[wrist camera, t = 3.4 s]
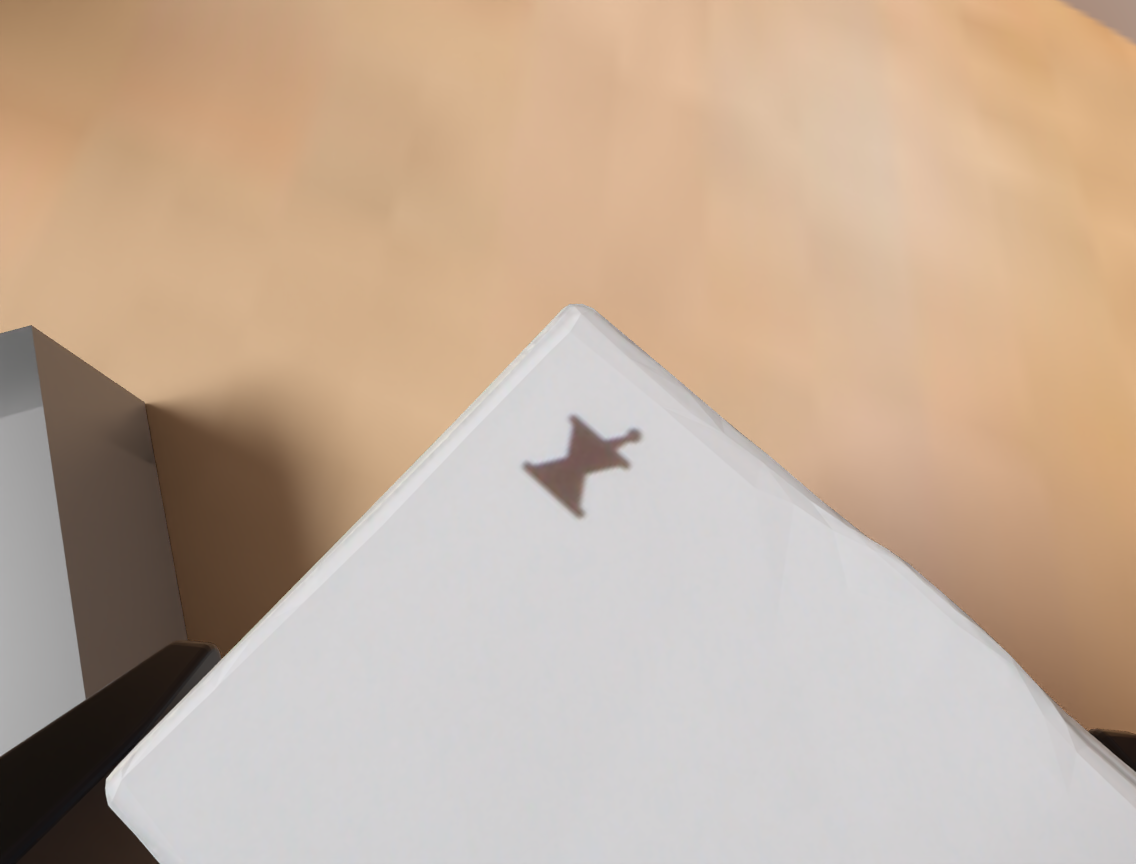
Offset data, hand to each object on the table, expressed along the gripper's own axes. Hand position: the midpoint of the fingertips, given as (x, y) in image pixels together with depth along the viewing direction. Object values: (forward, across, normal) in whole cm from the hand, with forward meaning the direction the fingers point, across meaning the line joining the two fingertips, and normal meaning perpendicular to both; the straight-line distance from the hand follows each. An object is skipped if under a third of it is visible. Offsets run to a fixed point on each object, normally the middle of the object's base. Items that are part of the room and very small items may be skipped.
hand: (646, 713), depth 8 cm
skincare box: (+5, 0, +6) cm, 8 cm away
